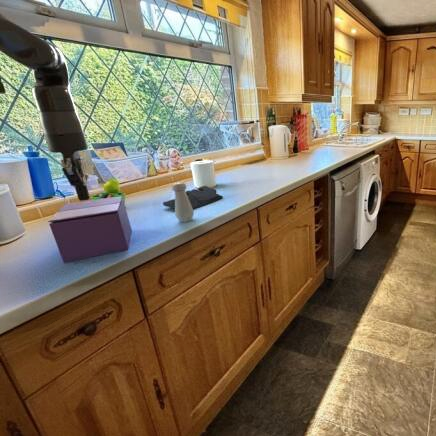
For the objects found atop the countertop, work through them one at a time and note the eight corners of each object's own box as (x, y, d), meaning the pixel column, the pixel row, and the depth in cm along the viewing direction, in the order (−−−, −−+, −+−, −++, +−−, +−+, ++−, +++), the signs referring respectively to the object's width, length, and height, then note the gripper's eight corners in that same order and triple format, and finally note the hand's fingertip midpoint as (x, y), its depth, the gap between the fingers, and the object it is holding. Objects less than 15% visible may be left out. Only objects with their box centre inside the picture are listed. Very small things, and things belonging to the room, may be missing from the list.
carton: (128, 249, 82) (117, 210, 78) (63, 263, 76) (47, 220, 72) (131, 230, 96) (122, 196, 92) (77, 240, 90) (64, 203, 86)
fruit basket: (93, 208, 121) (84, 180, 117) (115, 202, 128) (108, 176, 125) (110, 211, 116) (101, 182, 112) (132, 205, 124) (125, 177, 120)
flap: (117, 211, 78) (117, 210, 78) (48, 222, 72) (48, 220, 72) (120, 204, 85) (119, 202, 85) (57, 213, 79) (57, 211, 79)
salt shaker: (189, 216, 107) (181, 180, 103) (198, 219, 104) (191, 182, 100) (173, 221, 103) (165, 184, 98) (182, 224, 99) (174, 185, 95)
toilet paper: (190, 187, 150) (185, 163, 146) (208, 182, 158) (204, 159, 154) (203, 189, 145) (199, 164, 141) (221, 184, 153) (217, 160, 149)
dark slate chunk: (157, 208, 117) (154, 197, 115) (199, 194, 136) (197, 184, 134) (186, 212, 111) (184, 200, 110) (226, 197, 130) (225, 186, 129)
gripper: (51, 131, 77) (72, 196, 83) (34, 133, 66) (60, 208, 72) (87, 129, 80) (105, 192, 86) (77, 131, 70) (98, 203, 75)
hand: (84, 199), depth 79 cm, fingers closed
